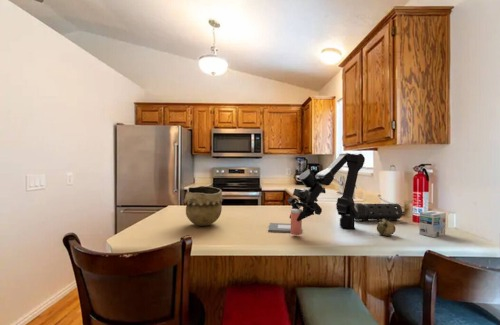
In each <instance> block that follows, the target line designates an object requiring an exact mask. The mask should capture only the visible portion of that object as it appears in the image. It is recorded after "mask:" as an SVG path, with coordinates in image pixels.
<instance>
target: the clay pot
mask: <svg viewBox="0 0 500 325" xmlns="http://www.w3.org/2000/svg"><path fill="white" fill-rule="evenodd" d="M222 191H223V190H222V189H221V188H218V187H213V186H210V185H209V186H208V185H200V186H199V185H198V186H194V187H191V186H189V187H187V190H186V193H185V195H184V199H183V201H182V203H183V204H184V205H186V206H185V215H186V217H187V219H188V220H189V221H190V222H191V223H192V224H194V225H196V226H201V227H203V226H210V225H212V224H214V223H215V222H216V221H217V220H218V219H219V218H220V216H221V215H222V211H223V210H222V209H223V208H222V206H223V205H222V203H223V201H224V198H223V192H222Z"/></svg>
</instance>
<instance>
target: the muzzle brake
mask: <svg viewBox="0 0 500 325" xmlns="http://www.w3.org/2000/svg"><path fill="white" fill-rule="evenodd" d="M354 203H355V205H354V208H355V209H356V211H357V212H358V216H357V217H356V218H355V220H356V221H357V220H358V221H360V220H361V221H362V222H368V221H369V220H371V221H375V220H376V221H378V222H380V221H382V219H385V220H386V221H398V220H399V219H401V218H402V215H403V208H402V206H401V204H399V203H361V202H360V203H359V202H354Z"/></svg>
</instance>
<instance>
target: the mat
mask: <svg viewBox="0 0 500 325" xmlns="http://www.w3.org/2000/svg"><path fill="white" fill-rule="evenodd" d="M267 231H268V233H285V234H286V233H288V234H291V223H284V222H283V223H282V222H281V223H280V222H270V223H269V226H268V230H267Z"/></svg>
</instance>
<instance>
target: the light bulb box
mask: <svg viewBox="0 0 500 325" xmlns="http://www.w3.org/2000/svg"><path fill="white" fill-rule="evenodd" d="M446 217H447V213H446V212H443V211H442V212H441V211H438V210H437V211H435V210H427V211H419V225H418V226H419V227H418V229H419V233H418V234H419V235H423V236H427V237H430V238H436V237H443V236H446V225H447V224H446V223H447V222H446V220H447V218H446Z"/></svg>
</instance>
